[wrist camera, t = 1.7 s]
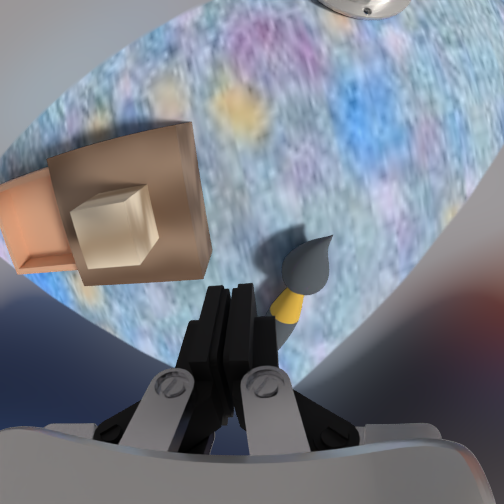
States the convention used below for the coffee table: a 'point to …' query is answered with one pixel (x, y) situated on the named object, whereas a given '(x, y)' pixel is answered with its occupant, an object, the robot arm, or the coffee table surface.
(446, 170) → the coffee table surface
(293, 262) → the paintbrush
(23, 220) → the tray
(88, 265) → the beech block
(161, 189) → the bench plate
